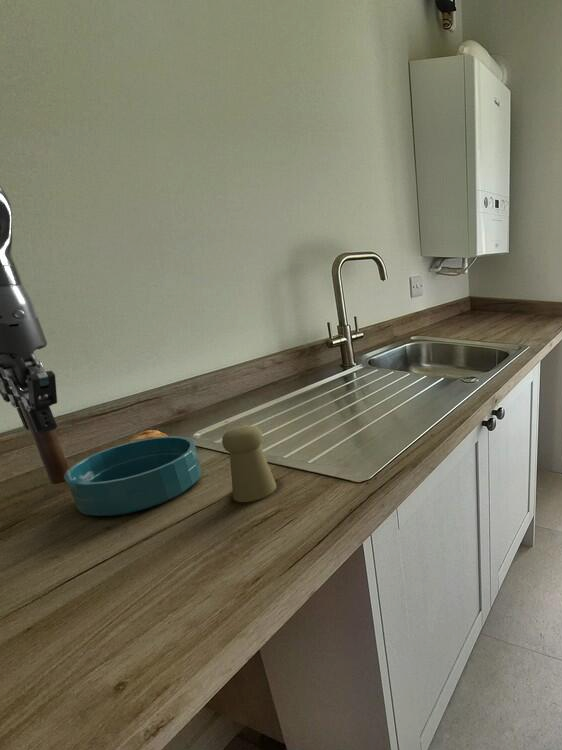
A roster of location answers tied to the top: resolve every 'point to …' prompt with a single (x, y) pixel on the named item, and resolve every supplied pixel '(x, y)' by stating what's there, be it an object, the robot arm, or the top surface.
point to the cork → (248, 464)
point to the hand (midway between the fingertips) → (41, 429)
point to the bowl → (133, 476)
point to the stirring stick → (48, 450)
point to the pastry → (147, 435)
